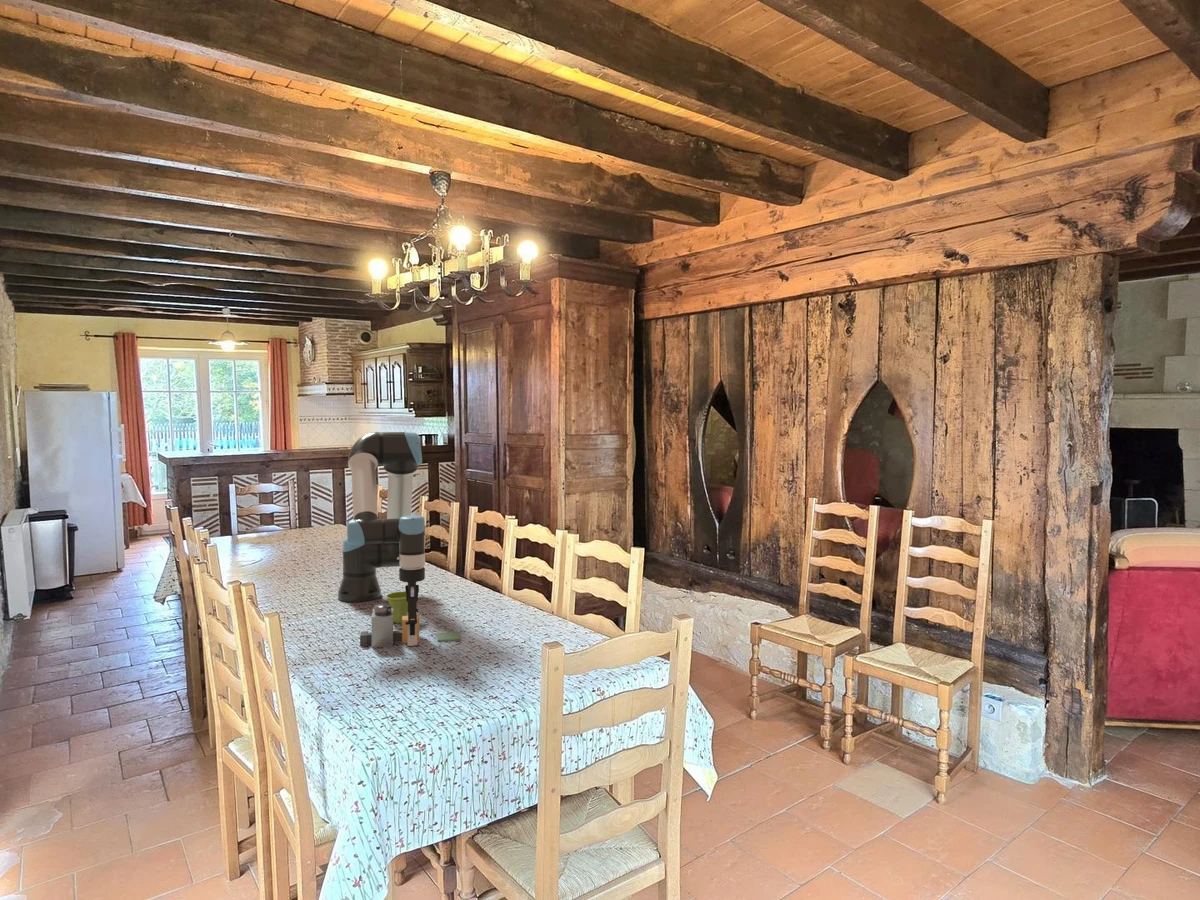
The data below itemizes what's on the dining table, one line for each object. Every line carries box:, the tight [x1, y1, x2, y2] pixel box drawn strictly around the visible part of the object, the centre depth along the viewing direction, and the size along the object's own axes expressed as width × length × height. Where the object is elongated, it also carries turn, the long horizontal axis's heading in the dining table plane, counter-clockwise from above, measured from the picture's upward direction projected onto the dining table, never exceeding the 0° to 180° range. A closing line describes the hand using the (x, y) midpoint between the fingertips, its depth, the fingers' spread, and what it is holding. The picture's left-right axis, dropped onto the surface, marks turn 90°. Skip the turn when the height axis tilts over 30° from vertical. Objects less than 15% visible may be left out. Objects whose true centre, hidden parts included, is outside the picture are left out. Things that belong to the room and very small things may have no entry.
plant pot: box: [385, 591, 408, 624], centre depth 234 cm, size 9×9×9 cm
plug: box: [359, 614, 420, 647], centre depth 213 cm, size 4×17×7 cm, turn 104°
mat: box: [436, 631, 462, 643], centre depth 218 cm, size 7×7×1 cm
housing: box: [371, 603, 394, 648], centre depth 212 cm, size 9×6×11 cm
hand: (412, 639), depth 215 cm, fingers open, 10 cm apart
